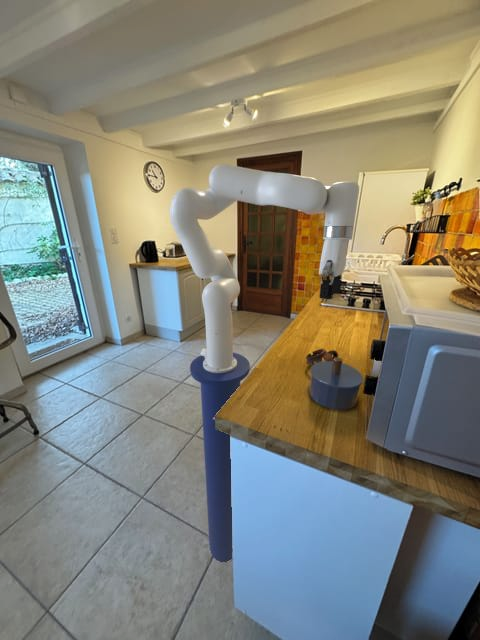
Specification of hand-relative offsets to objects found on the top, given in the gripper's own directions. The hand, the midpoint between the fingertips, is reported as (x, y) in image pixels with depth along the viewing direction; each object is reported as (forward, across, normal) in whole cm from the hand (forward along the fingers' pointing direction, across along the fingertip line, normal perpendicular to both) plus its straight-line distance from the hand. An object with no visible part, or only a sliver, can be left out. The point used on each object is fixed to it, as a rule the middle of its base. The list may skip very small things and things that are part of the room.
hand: (330, 295), depth 75 cm
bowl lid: (+21, +7, +6) cm, 23 cm away
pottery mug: (+28, -7, -1) cm, 29 cm away
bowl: (+28, +7, +6) cm, 30 cm away
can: (+28, -6, +18) cm, 34 cm away
